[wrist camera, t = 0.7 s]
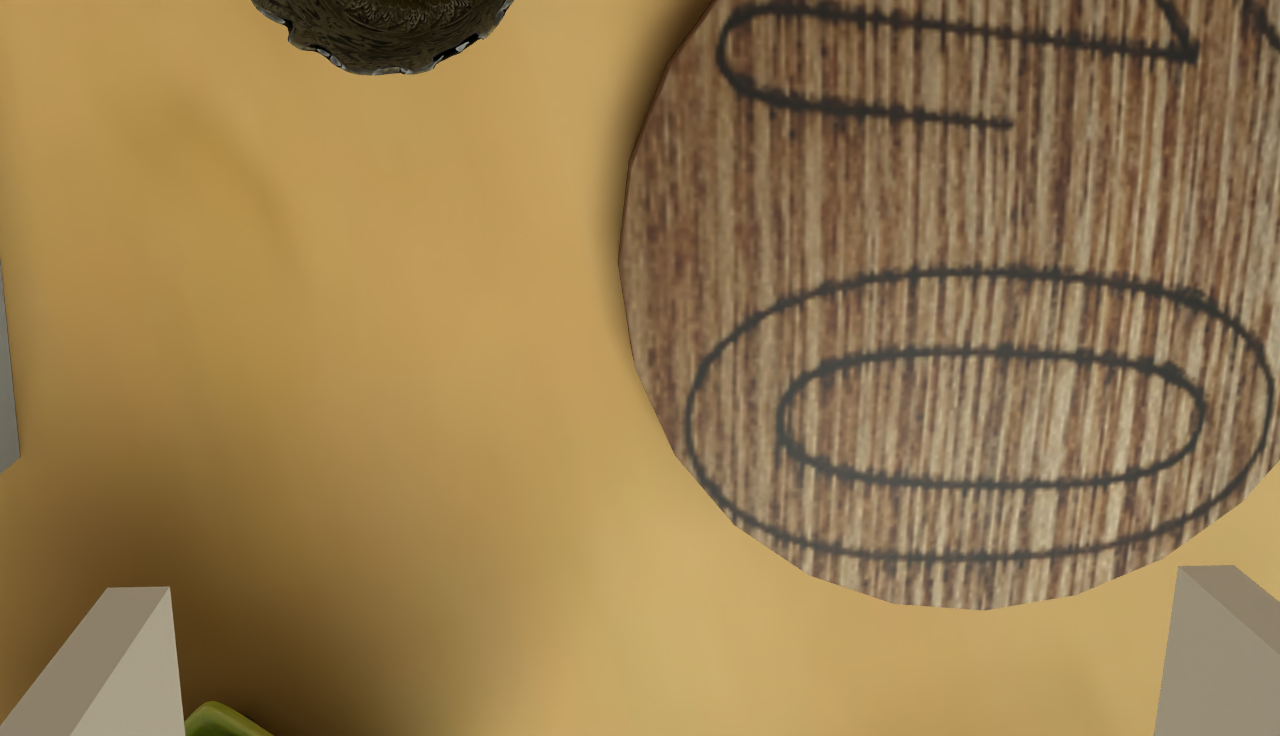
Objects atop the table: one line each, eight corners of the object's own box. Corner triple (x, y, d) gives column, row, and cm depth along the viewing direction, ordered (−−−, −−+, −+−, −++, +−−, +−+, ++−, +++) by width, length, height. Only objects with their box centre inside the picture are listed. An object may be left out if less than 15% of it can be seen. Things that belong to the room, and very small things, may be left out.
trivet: (607, -149, 37) (610, -158, 35) (1404, -158, 38) (1446, -166, 37) (624, 602, 44) (628, 627, 42) (1297, 570, 45) (1328, 593, 44)
